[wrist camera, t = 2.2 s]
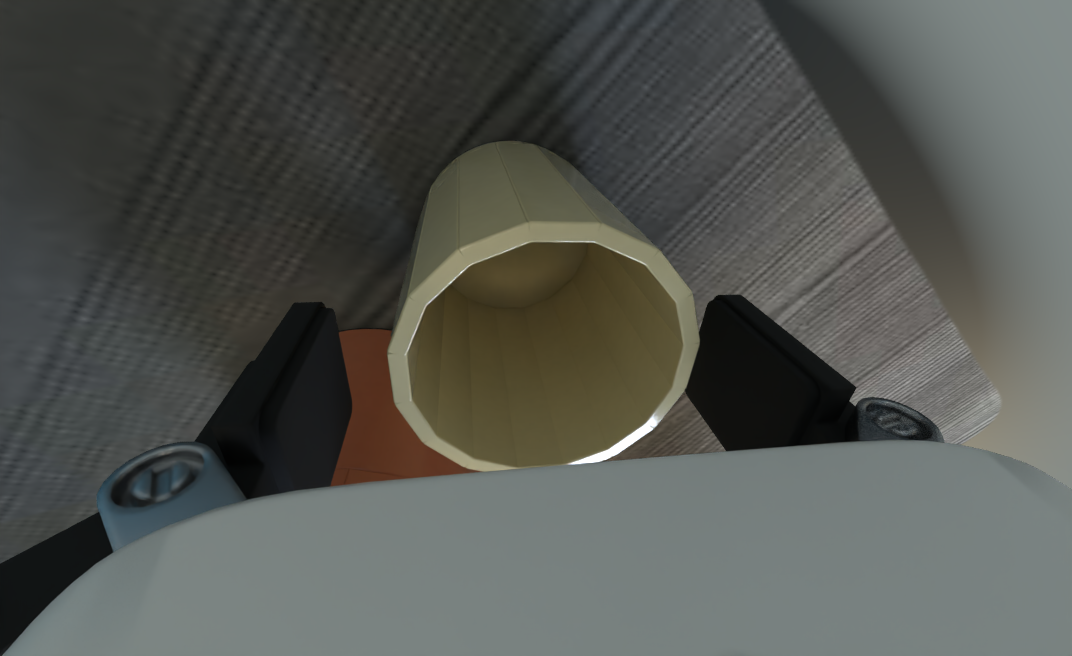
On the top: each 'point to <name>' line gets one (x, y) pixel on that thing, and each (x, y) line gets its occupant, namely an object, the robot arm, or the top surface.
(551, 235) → the cream cup
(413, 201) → the top surface
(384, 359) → the orange cup
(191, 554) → the robot arm
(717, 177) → the top surface
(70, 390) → the top surface
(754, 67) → the top surface
